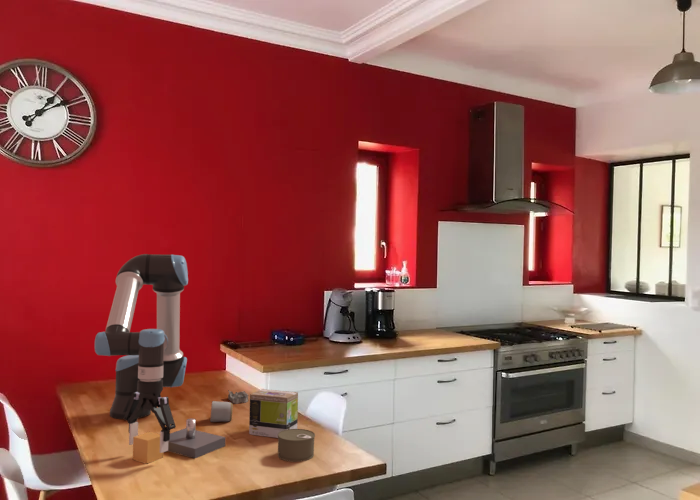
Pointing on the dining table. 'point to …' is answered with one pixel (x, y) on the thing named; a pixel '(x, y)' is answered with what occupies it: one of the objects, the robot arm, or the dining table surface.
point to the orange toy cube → (147, 447)
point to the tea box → (272, 412)
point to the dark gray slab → (194, 443)
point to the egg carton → (238, 397)
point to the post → (190, 428)
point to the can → (296, 445)
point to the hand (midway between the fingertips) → (148, 447)
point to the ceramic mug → (221, 411)
